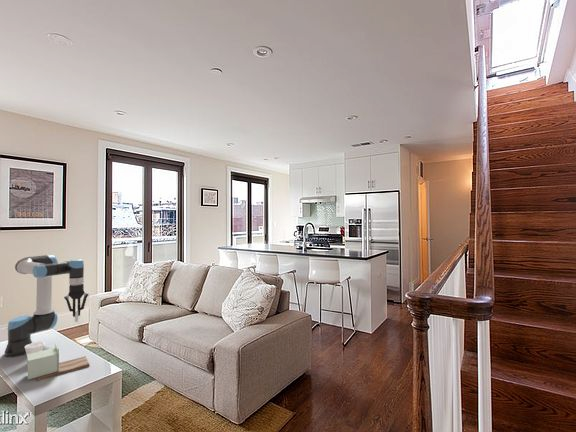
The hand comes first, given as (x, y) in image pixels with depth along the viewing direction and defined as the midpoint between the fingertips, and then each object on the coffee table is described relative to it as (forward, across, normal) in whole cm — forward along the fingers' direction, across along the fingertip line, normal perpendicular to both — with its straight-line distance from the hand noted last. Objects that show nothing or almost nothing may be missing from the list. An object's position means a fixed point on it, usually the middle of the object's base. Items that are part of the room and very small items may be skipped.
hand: (76, 321), depth 195 cm
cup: (+27, -20, +19) cm, 38 cm away
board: (+26, -7, -4) cm, 27 cm away
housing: (+25, -17, -4) cm, 30 cm away
